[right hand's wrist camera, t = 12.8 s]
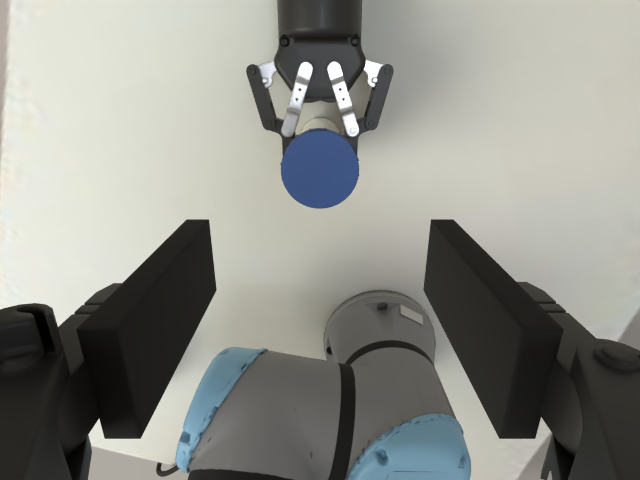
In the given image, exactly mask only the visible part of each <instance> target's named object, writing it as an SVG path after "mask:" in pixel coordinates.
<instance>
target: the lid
mask: <svg viewBox="0 0 640 480" xmlns="http://www.w3.org/2000/svg"><path fill="white" fill-rule="evenodd" d="M285 150H286V152H285V153H284V156H283V159H282V162H281V176H282V180H283V183H284V186H285V188H286V189H287V191H288V192H289V194H290V195H291V196H292V197H293V198H294V199H295V200H296V201H298V202H299V203H301V204H303V205H305V206H308V207H311V208H328V207H332V206H335V205H337V204H339V203H341V202H342V201H344V200H345V199H346V198H347V197H348V196H349V195H350V194H351V192H352V191H353V189H354V188H355V185H356V183H357V180H358V176H359V164H358V161H359V159H358V157H357V156H356V154H355V152H354V150H353V148H352V144H351V142H350V143H349V142H348V141H347V139H346V138H345V137H343V136H342V135H341V133H340V132H339V133H337V132H335V131H333V130H330V129H326V127H325V128H314V129H311V128H310V129H309V130H307V131H304V132H303V133H301V134H299V135H296V137H295V138H294V139H293V140H292V142H291V143H290V144H289V146H287V147H286V149H285Z"/></svg>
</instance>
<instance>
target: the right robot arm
mask: <svg viewBox="0 0 640 480" xmlns="http://www.w3.org/2000/svg"><path fill="white" fill-rule="evenodd" d="M215 292H216V281H215V272H214V263H213V253H212V244H211V235H210V226H209V220H186V221H185V222H184V223H183V224H182V225H181V226H180V227H179V228H178V229H177V230H176V231H175V232H174V233H173V234H172V235H171V236H170V237H169V238H168V239H167V240H166V241H165V242H164V243H163V244H162V245H161V246H160V247H159V248H158V249H157V250H156V251H155V252H154V253H153V254H152V255H151V256H150V257H149V258H148V259H147V260H146V261H145V262H143V263H142V264H141V265H140V266H139V267H138V268H137V269H136V270H135V271H134V272H133V273H132V274H131V275H130V276H129V277H128V278H127V279H126V280H125V281H124V282H123V283H113V284H112V285H110V286H108V287H106V288H104V289H102V290H100V291H98V292H96V293H95V294H94V295H93V296H92V297H91V298H90V299H89V300H87V301H86V302H85V305H82V306H81V307H80V308H79V309H78V310H77V311H75V314H74V315H71V316H70V317H69V318H68V319H67V320H66V321H65V322H63V323H62V324H61V325H60V326H59V327H58V326H57V323H56V319H55V316H54V312H53V309H52V308H51V307H49V306H48V305H45V304H36V303H33V304H22V305H17V306H12V307H8V308H4V309H1V310H0V480H88V474H89V467H90V461H91V454H92V450H91V443H90V440H89V436H88V434H89V432H90V431H91V429H92V428H93V426H94V425H95V423H96V422H97V420H98V419H99V418H100V422H101V426H102V430H103V434H104V437H105V439H141V437H142V435H143V433H144V431H145V429H146V427H147V425H148V423H149V421H150V419H151V417H152V415H153V413H154V411H155V409H156V407H157V405H158V403H159V401H160V400H161V398H162V396H163V394H164V392H165V390H166V388H167V386H168V384H169V382H170V380H171V378H172V376H173V374H174V372H175V370H176V368H177V366H178V364H179V362H180V360H181V358H182V356H183V355H184V353H185V351H186V349H187V347H188V345H189V343H190V341H191V339H192V337H193V335H194V333H195V331H196V329H197V327H198V325H199V323H200V321H201V319H202V317H203V315H204V313H205V311H206V310H207V308H208V306H209V304H210V302H211V300H212V298H213V296H214V294H215ZM424 292H425V294H426V296H427V298H428V300H429V302H430V304H431V306H432V308H433V310H434V311H435V313H436V315H437V317H438V319H439V321H440V323H441V325H442V327H443V329H444V331H445V333H446V335H447V337H448V339H449V341H450V343H451V345H452V347H453V349H454V351H455V353H456V355H457V356H458V358H459V360H460V362H461V364H462V366H463V368H464V370H465V372H466V374H467V376H468V378H469V380H470V382H471V384H472V386H473V388H474V390H475V392H476V394H477V396H478V398H479V400H480V401H481V403H482V405H483V407H484V409H485V411H486V413H487V415H488V417H489V419H490V421H491V423H492V425H493V427H494V429H495V431H496V433H497V435H498V437H499V439H535V437H536V434H537V430H538V426H539V422H540V418H541V417H542V418H543V420H544V421H545V423H546V424H547V426H548V427H549V429H550V430H551V432H552V436H551V440H550V443H549V447H548V450H547V454H546V457H545V461H544V464H543V468H542V473H541V479H544V480H547V477H548V474H549V471H551V473H552V480H640V351H639V350H637V349H634V348H632V347H630V346H628V345H625V344H622V343H619V342H615V341H611V340H606V339H596V338H595V337H594V336H593V335H592V334H591V333H590V332H589V331H587V330H586V329H585V328H584V327H583V326H582V325H581V324H580V323H579V322H578V321H576V320H575V319H574V318H573V317H572V316H571V315H570V314H569V313H566V311H565V310H564V309H563V308H562V307H561V306H560V305H559V304H556V301H554V300H553V299H552V298H551V297H550V296H549V295H548V294H547V293H546V292H545V291H543V290H541V289H539V288H537V287H535V286H533V285H531V284H529V283H528V282H516V281H515V280H514V279H513V278H512V277H511V276H510V275H509V274H508V273H507V272H506V271H505V270H504V269H503V268H502V267H501V266H500V265H499V264H498V263H496V262H495V261H494V260H493V259H492V258H491V257H490V256H489V255H488V254H487V253H486V252H485V251H484V250H483V249H482V248H481V247H480V246H479V245H478V244H477V243H476V242H475V241H474V240H473V239H472V238H471V237H470V236H469V235H468V234H467V233H466V232H465V231H464V230H463V229H462V228H461V227H460V226H459V225H458V224H457V223H456V222H455V221H454V220H431V226H430V235H429V244H428V253H427V263H426V272H425V281H424ZM435 346H436V340H435V334H434V329H433V326H432V324H431V321H430V319H429V317H428V315H427V314H426V312H425V311H424V309H423V308H422V307H421V306H420V305H419V304H418V303H417V302H415V301H414V300H412V299H411V298H409V297H407V296H405V295H402V294H399V293H396V292H391V291H372V292H366V293H363V294H360V295H357V296H355V297H352V298H351V299H349V300H347V301H346V302H344V303H343V304H342V305H340V306H339V307H338V308H337V309H336V310H335V311H334V313H333V314H332V315H331V317H330V318H329V320H328V322H327V325H326V328H325V332H324V350H325V355H326V359H327V361H325V360H319V359H313V358H306V357H301V356H295V355H290V354H284V353H278V352H273V351H268V350H267V349H265V348H263V349H259V350H257V349H247V348H238V347H231V348H227V349H225V350H223V351H222V352H220V353H219V354H218V355H217V356H216V357H215V359H214V360H213V361H212V362H211V364H210V365H209V367H208V369H207V370H206V372H205V374H204V376H203V378H202V380H201V382H200V384H199V386H198V388H197V390H196V393H195V395H194V397H193V400H192V402H191V405H190V408H189V410H188V413H187V416H186V419H185V422H184V425H183V429H184V431H183V432H182V434H181V437H180V440H179V443H178V446H177V451H176V464H177V465H176V466H175V467H173V468H171V469H169V470H167V471H161V465H162V463H160V462H158V463H157V467H156V472H157V474H158V475H159V476H161V477H163V476H167V475H170V474H172V473H174V472H175V471H177V470H178V469H181V470H182V471H183V472H184V473H189V472H190V474H189V477H188V480H470V475H471V460H470V456H469V453H468V449H467V446H466V443H465V440H464V436H463V430H462V427H461V425H460V424H459V422H458V421H457V419H456V417H455V415H454V412H453V410H452V407H451V405H450V403H449V400H448V398H447V395H446V393H445V391H444V388H443V386H442V383H441V381H440V379H439V376H438V374H437V372H436V369H435V367H434V356H435Z"/></svg>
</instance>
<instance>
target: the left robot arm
mask: <svg viewBox="0 0 640 480" xmlns="http://www.w3.org/2000/svg"><path fill="white" fill-rule="evenodd" d="M277 3H278V29H279V47H278V51H277V53H276V55H275V58H274V61H271V62H267V63H264V64H261V65H253V64H252V65H249V66H248V67H247V70H246V72H247V76H248V79H249V82H250V85H251V89H252V92H253V95H254V98H255V102H256V105H257V108H258V111H259V115H260V118H261V121H262V124H263V127H264V128H265V129H266V130H271V131H274V132H276V133H278V134H280V135H281V137H282V145H283V156H284V153H285V152H286V150H285V149H286V147H287V146H289V144H290V143H291V142H292V140H293V139H294V138H295V137H296V135H295V129H296V126H297V122H298V119H299V116H300V113H301V110H302V107H303V103H310V102H315V101H319V100H322V101H325V102H337V106H338V109H339V112H340V115H341V118H342V121H343V124H344V127H345V135H343V137H345V138H346V139H347V141H348V142H349V143H350V142H351V144H352V148H353V150H354V152H355V154H356V156H357V145H358V137H359V135H360V134H361V133H363V132H366V131H368V130H374V129H375V128H376V127H377V125H378V122H379V118H380V115H381V112H382V109H383V105H384V102H385V99H386V95H387V92H388V89H389V85H390V82H391V79H392V75H393V67H392V66H391V65H389V64H385V65H381V64H378V63H374V62H371V61H367V60H366V58H365V55H364V53H363V51H362V48H361V18H362V0H277ZM362 71H364V72H365V73H366V74H367V84H368V85H369V86H370V87H372V90H371V94H370V97H369V101H368V104H367V108H366V111H365V115H364V117H363V118H360V119H358V120H356V118H355V114H354V111H353V107H352V103H351V100H350V97H349V93H348V91H349V90H350V89H351V87H352V86H353V84H354V83H355V81H356V80H357V78H358V77H359V76H360V74H361V73H362ZM275 72H278V73H279V75H280V76H281V77H282V79H283V80H284V82H285V83H286V84H287V86H288V87H289V89H290V90H291V91H292V94H291V98H290V101H289V105H288V108H287V112H286V116H285V119H284V120H282V119H279V118H277V117H276V114H275V110H274V107H273V104H272V100H271V97H270V93H269V90H268V87H271V86H272V84H273V75H274V73H275Z"/></svg>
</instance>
